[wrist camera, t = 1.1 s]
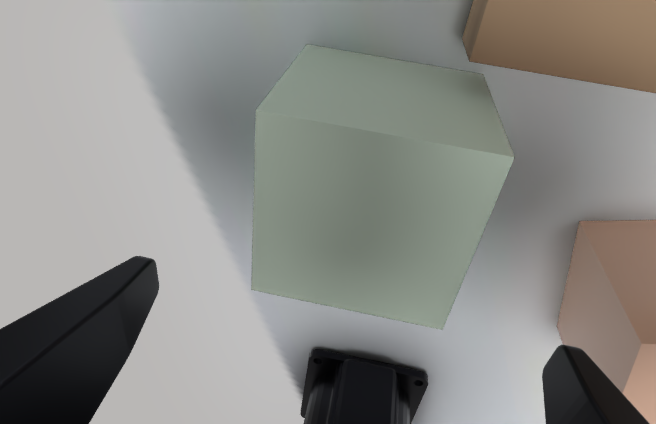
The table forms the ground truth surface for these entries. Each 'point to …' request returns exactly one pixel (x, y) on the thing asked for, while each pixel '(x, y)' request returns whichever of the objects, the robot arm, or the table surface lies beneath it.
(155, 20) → the table surface
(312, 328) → the table surface
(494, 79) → the table surface
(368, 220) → the sage cube
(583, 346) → the clay cube
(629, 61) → the walnut block
